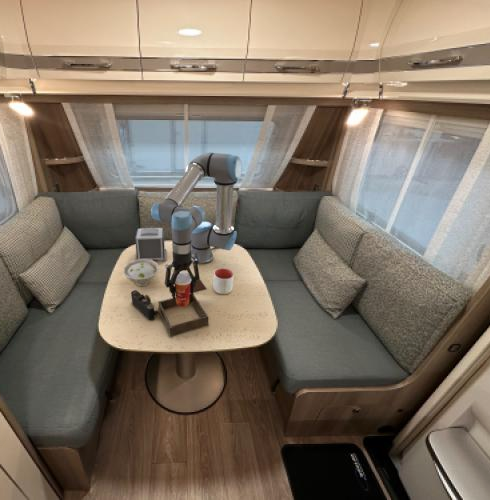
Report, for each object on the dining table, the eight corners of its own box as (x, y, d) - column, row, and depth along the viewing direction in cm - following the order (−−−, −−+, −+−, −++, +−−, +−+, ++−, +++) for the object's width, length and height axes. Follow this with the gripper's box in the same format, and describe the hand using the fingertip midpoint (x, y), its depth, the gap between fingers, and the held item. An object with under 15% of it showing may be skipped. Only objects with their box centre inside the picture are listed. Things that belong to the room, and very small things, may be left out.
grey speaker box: (165, 250, 175) (164, 225, 166) (165, 261, 164) (164, 234, 155) (137, 251, 174) (135, 225, 165) (135, 262, 163) (132, 235, 154)
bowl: (167, 279, 148) (166, 264, 143) (143, 298, 134) (142, 282, 129) (141, 268, 157) (139, 253, 152) (116, 284, 143) (114, 269, 138)
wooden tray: (192, 300, 133) (192, 292, 130) (207, 325, 118) (208, 317, 116) (158, 309, 127) (158, 301, 124) (170, 336, 113) (169, 328, 110)
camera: (161, 315, 124) (160, 301, 120) (149, 322, 120) (148, 308, 116) (141, 297, 134) (140, 284, 130) (130, 303, 130) (128, 290, 126)
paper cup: (170, 302, 119) (169, 276, 112) (182, 294, 123) (182, 269, 116) (182, 311, 114) (182, 285, 107) (194, 302, 119) (195, 277, 111)
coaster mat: (197, 276, 151) (197, 275, 150) (206, 288, 141) (206, 288, 141) (177, 281, 147) (177, 280, 146) (184, 294, 137) (184, 293, 137)
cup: (218, 281, 147) (219, 266, 142) (234, 287, 142) (236, 271, 137) (209, 291, 139) (210, 275, 134) (227, 297, 135) (228, 281, 130)
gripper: (201, 241, 111) (200, 284, 123) (154, 250, 105) (157, 295, 116) (209, 250, 105) (207, 294, 117) (159, 260, 99) (162, 306, 110)
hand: (182, 295), depth 116 cm, fingers closed on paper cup, 8 cm apart
